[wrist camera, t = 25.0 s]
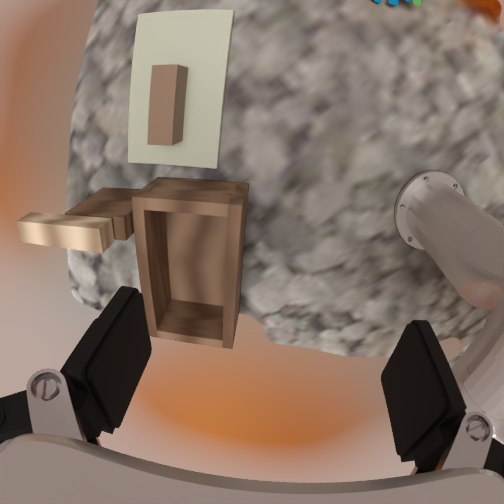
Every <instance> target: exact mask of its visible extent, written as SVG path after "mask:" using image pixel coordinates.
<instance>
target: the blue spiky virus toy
mask: <svg viewBox="0 0 504 504" xmlns="http://www.w3.org/2000/svg"><path fill="white" fill-rule="evenodd" d="M374 1H375V2H377V3H380V2H381V0H374ZM406 1H412V0H406ZM389 3H390V4H392V5H398V3H399V0H389ZM413 3H414V4H415V5H417V6H419V5H420V4H421V0H413Z"/></svg>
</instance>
